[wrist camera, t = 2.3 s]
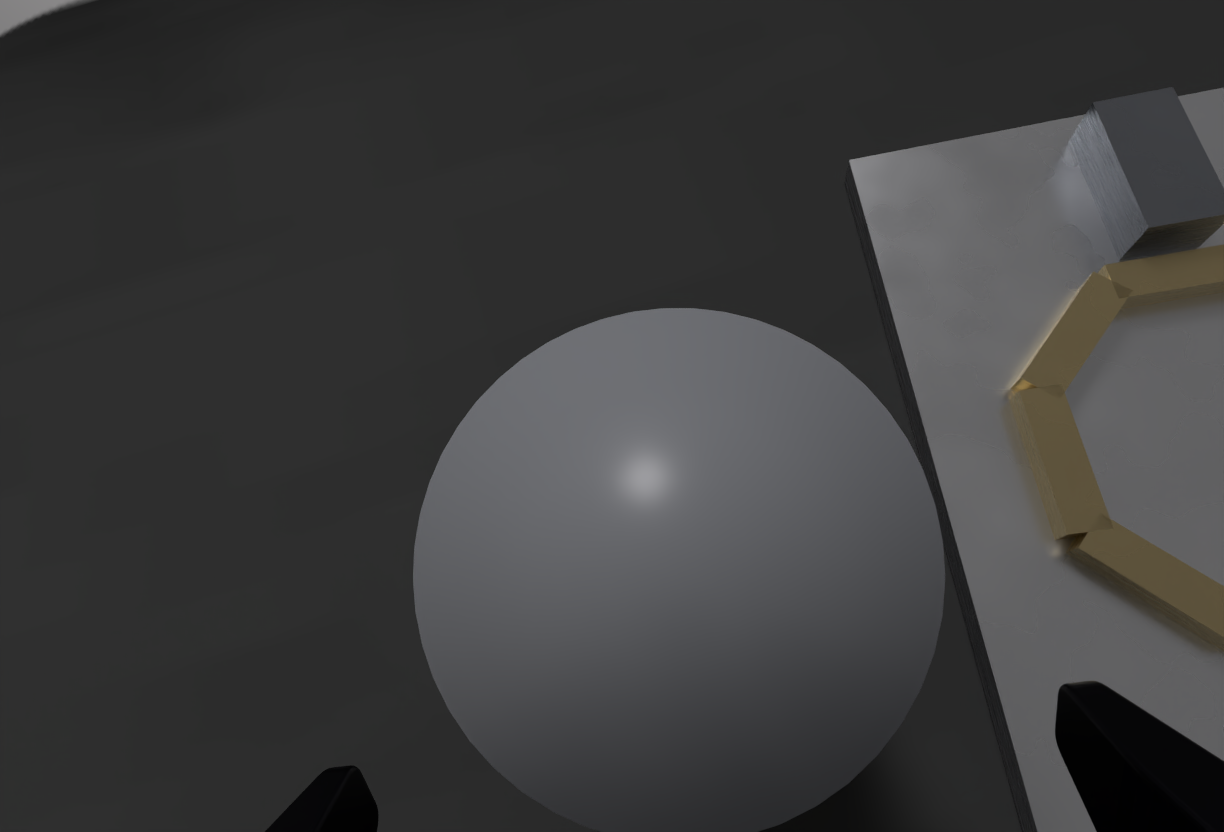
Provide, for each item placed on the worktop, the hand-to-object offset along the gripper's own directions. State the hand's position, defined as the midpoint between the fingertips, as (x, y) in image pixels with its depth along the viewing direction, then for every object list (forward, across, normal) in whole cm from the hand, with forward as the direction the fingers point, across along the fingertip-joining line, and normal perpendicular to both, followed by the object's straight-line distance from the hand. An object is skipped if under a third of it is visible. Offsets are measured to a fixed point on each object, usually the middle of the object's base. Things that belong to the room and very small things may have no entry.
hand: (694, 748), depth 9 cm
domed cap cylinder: (+8, 0, +5) cm, 10 cm away
